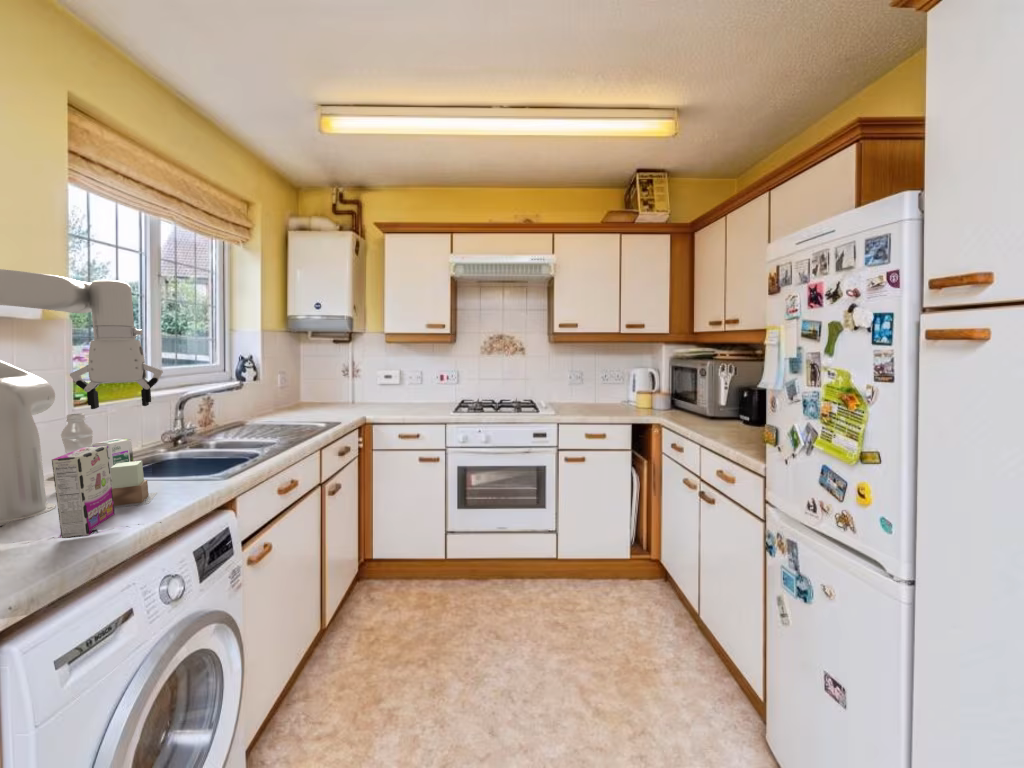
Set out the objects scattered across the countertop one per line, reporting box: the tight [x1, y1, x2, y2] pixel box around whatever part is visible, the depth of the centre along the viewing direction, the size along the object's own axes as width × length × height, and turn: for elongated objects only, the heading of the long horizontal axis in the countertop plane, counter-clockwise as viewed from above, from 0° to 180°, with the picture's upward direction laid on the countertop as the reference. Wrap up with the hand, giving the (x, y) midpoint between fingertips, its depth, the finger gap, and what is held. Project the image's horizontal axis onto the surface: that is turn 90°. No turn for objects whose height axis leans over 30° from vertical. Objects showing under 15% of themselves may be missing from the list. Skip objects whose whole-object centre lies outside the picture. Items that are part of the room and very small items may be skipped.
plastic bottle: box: [60, 412, 94, 454], centre depth 135 cm, size 6×7×20 cm
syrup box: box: [92, 438, 134, 485], centre depth 124 cm, size 6×6×14 cm
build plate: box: [114, 492, 158, 509], centre depth 118 cm, size 9×10×1 cm
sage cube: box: [110, 460, 145, 489], centre depth 117 cm, size 5×5×5 cm
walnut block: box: [112, 479, 149, 506], centre depth 118 cm, size 6×6×4 cm
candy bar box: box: [51, 446, 115, 539], centre depth 102 cm, size 11×5×16 cm, turn 17°
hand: (120, 406), depth 116 cm, fingers open, 9 cm apart
